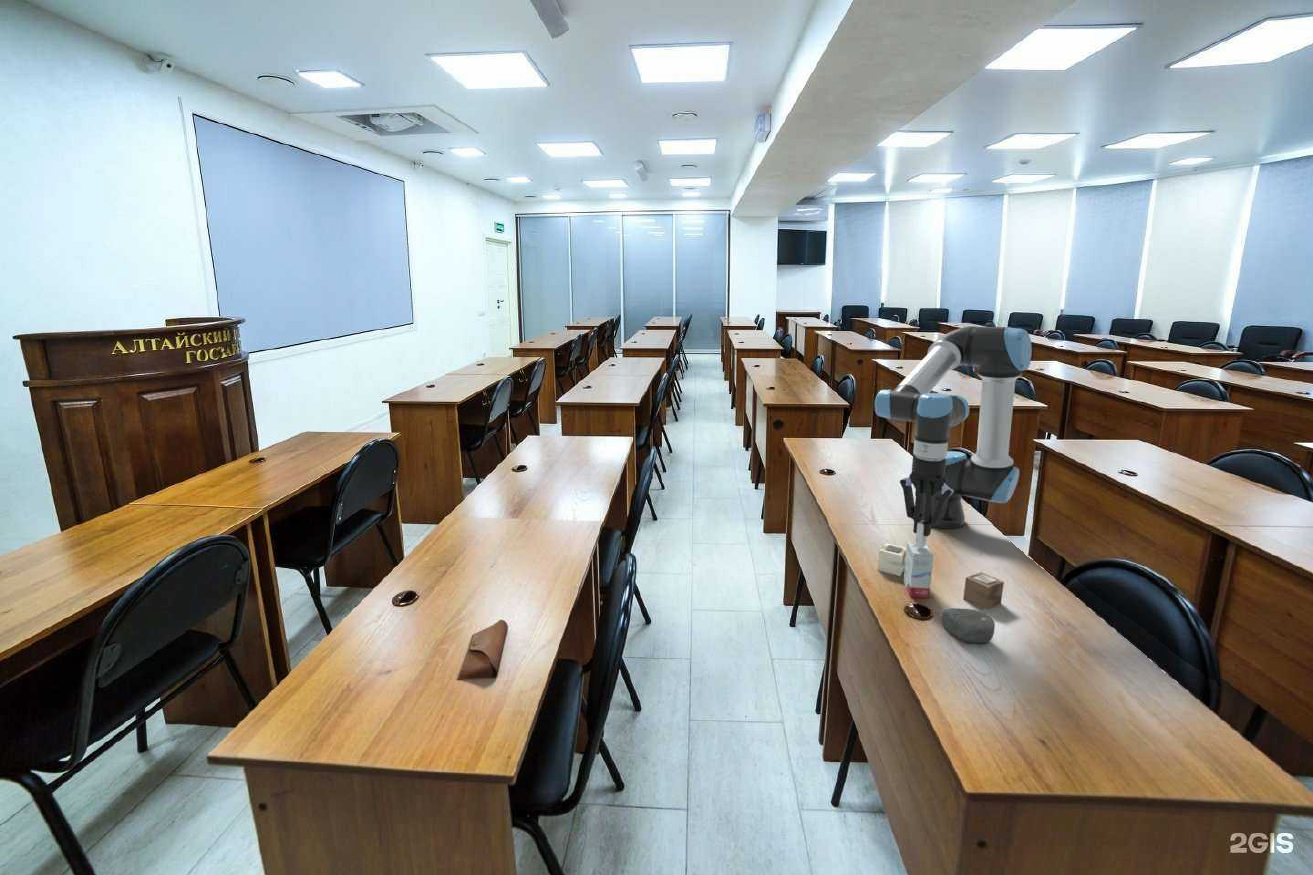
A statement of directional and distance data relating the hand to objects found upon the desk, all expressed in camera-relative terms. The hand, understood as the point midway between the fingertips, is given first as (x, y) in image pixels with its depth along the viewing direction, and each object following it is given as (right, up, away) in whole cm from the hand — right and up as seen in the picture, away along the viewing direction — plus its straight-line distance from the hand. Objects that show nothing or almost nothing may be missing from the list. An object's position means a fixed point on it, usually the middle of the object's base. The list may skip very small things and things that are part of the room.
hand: (920, 546), depth 157 cm
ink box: (0, -12, +3) cm, 13 cm away
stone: (+3, -17, -17) cm, 24 cm away
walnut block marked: (+14, -13, -3) cm, 20 cm away
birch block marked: (-2, -9, +15) cm, 17 cm away
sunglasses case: (-105, -20, -22) cm, 109 cm away
